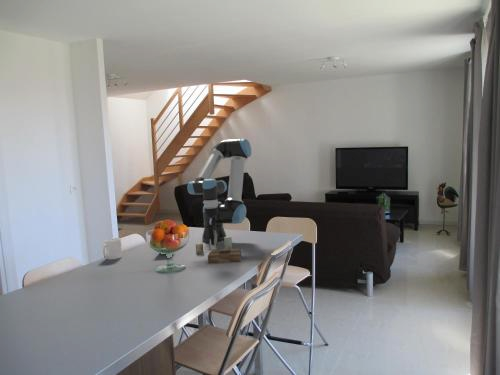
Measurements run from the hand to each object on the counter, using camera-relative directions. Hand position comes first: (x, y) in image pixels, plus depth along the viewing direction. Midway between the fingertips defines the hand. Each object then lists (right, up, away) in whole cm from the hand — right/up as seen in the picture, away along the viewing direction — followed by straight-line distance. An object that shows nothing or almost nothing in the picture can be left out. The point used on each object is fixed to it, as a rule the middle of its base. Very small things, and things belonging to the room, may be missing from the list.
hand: (214, 249), depth 226 cm
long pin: (0, -2, 0) cm, 2 cm away
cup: (-56, -5, -1) cm, 56 cm away
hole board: (+7, -3, -16) cm, 18 cm away
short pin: (-8, -2, +1) cm, 8 cm away
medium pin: (+8, -1, 0) cm, 8 cm away
